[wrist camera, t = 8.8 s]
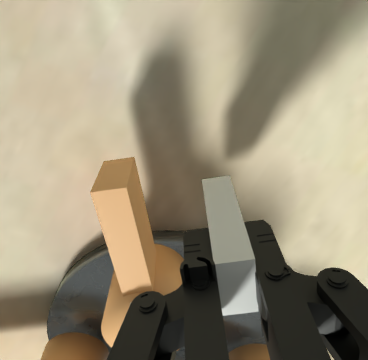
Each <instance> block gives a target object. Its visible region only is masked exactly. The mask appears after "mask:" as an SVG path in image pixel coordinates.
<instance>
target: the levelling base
mask: <svg viewBox="0 0 368 360" xmlns="http://www.w3.org/2000/svg"><path fill="white" fill-rule="evenodd" d="M185 234H186V232H185V231H154V232H152V235H153V240H154V244H159V245H164V246H166V247H169V248H171V249H173V250H175V251H176V252H177V253H179V254H180V255H181V256H182V257H183V259H184V246H183V237H184V236H185ZM113 271H114V266H113V263H112V260H111V257H110V254H109V251H108V247H107V244H105V245H102V246H100V247H98V248H97V249H95V250H93V251H92V252H90V253H88V254H87V255H86V256H84V257H83V258H82V259H81V260H79V261H78V262H77V263H76V264H75V265H74V266H73V267H72V268H71V269H70V270H69V272H68V273H67V274H66V276H65V277H64V279H63V280H62V282H61V283H60V286H59V288H58V291H57V293H56V295H55V298H54V300H53V303H52V305H51V308H50V310H49V315H48V320H47V333H48V339H49V340H50V339H52V338H53V337H55V336H57V335H59V334H63V333H70V332H78V333H84V334H88V335H91V336H94V337H96V338H97V339H99V340H101V341H102V342H103V343H104V344H105V345H106V347H107V348H108V350H109V353H110V350H111V347H110V346H109V345H108V344H107V343H106V341H105V340H104V338H103V336H102V332H101V324H102V320H103V315H104V311H105V306H106V302H107V298H108V293H109V289H110V284H111V280H112V275H113ZM258 311H259V312H251V313H243V314H234V315H226V316H223V321H224V328H225V334H226V341H227V348H228V353H229V352H230V351H232V350H233V349H235V348H237V347H240V346H243V345H247V344H266V341H265V337H264V336H263V337H262V332H261V315H260V310H259V307H258ZM175 360H185V347H183V348H180V349H179V350H178V351H176V357H175Z"/></svg>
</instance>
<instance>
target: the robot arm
mask: <svg viewBox="0 0 368 360" xmlns="http://www.w3.org/2000/svg"><path fill="white" fill-rule="evenodd" d="M202 185H203V192H204V199H205V206H206V214H207V221H208V228H202V229H195V230H187V232H186V234H185V236H184V237H183V246H184V261H183V262H182V263H181V265H180V274H181V279H182V284H181V286H180V287H179V288H178V289H176V290H175V291H173V292H171V293H169V294H166V295H164V296H163V295H162V294H160V293H159V292H155V291H146V292H144V293H141V294H139V295H138V296H137V297H135V298H134V299H133V301H132V302H131V304H130V306H129V309H128V311H127V313H126V316H125V318H124V320H123V323H122V325H121V327H120V330H119V332H118V334H117V337H116V339H115V341H114V343H113V346H112V348H111V350H110V353H109V355H108V357H107V360H175V357H176V350H178V349H180V348H183V347H185V360H229V354H228V348H227V341H226V334H225V328H224V321H223V316H226V315H234V314H243V313H251V312H259V311H258V307H259V310H260V315H261V332H262V337H263V336H264V337H265V341H266V345H267V349H268V353H269V356H270V360H331V359H330V356H329V354H328V351H329V353H330V354H331V355H332V357H333V358H334V360H368V289H367V288H366V287H365V286H364V285H363V284H362V283H361V282H360V281H359V280H358V279H357V278H356V277H355V276H354V275H352V274H351V273H349V272H348V271H346V270H343V269H340V268H326V269H324V270H322V271H320V273H319V274H318V276H308V275H303V274H299V273H297V272H295V271H293V270H292V269H291V267H290V266H288V265H287V264H286V262H285V260H284V258H283V255H282V253H281V250H280V248H279V245H278V243H277V241H276V238H275V236H274V234H273V231H272V229H271V226H270V225H269V224H268V223H266V222H265V221H264V220H258V221H250V222H244V220H243V217H242V214H241V210H240V207H239V204H238V201H237V197H236V194H235V191H234V187H233V184H232V181H231V177H230V175H229V176H222V177H214V178H207V179H202ZM327 350H328V351H327Z"/></svg>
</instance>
